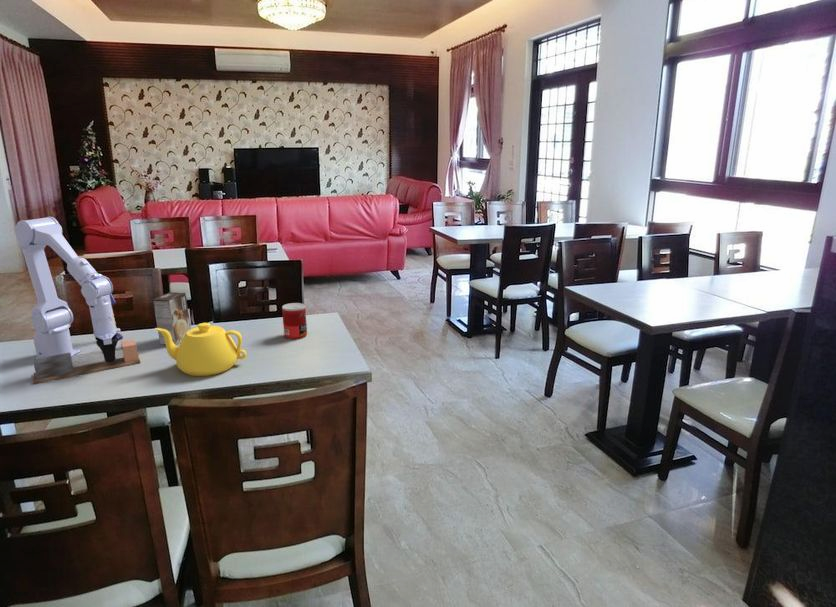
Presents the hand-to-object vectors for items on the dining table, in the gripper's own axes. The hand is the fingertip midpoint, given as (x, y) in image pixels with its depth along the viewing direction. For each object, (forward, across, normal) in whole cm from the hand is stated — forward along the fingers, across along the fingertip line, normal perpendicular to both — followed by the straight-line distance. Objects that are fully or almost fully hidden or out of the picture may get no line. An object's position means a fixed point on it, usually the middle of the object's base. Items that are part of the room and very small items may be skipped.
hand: (110, 359), depth 167 cm
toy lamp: (+2, +24, -3) cm, 25 cm away
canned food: (+2, -7, -57) cm, 57 cm away
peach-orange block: (+1, 0, -6) cm, 6 cm away
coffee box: (+2, +11, -21) cm, 23 cm away
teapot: (+2, -18, -24) cm, 30 cm away
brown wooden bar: (+2, 0, +6) cm, 6 cm away
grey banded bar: (0, 0, +3) cm, 3 cm away
